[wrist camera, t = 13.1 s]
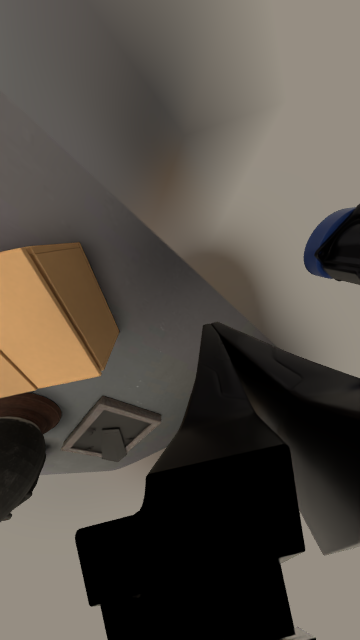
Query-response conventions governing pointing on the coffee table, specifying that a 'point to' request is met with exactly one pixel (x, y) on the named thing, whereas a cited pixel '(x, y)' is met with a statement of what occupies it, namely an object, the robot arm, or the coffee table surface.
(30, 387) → the carton
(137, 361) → the coffee table surface
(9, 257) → the flap
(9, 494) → the black ball on stand
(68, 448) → the picture frame
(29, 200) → the coffee table surface
